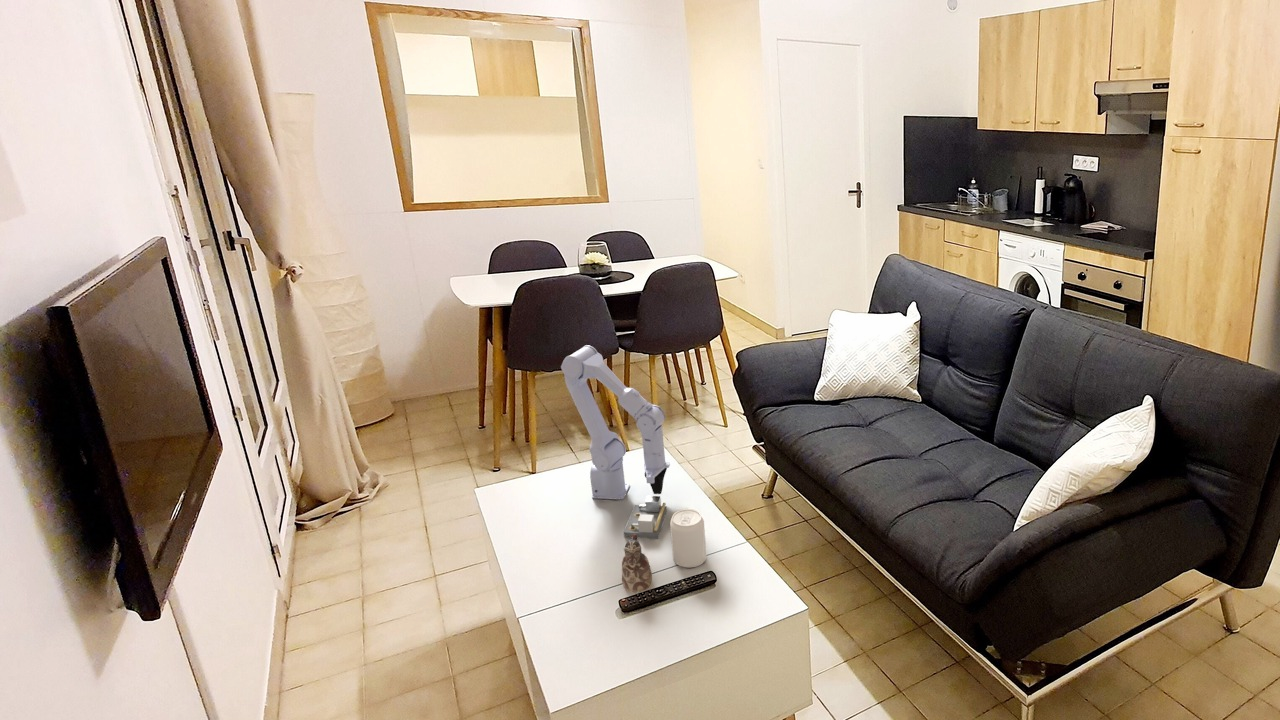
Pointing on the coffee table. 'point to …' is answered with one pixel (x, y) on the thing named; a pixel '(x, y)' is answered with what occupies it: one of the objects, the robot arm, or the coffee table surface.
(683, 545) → the beverage can
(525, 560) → the coffee table surface
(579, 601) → the coffee table surface
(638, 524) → the board
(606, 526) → the coffee table surface
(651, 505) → the sliding leg
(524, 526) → the coffee table surface
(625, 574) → the figurine
